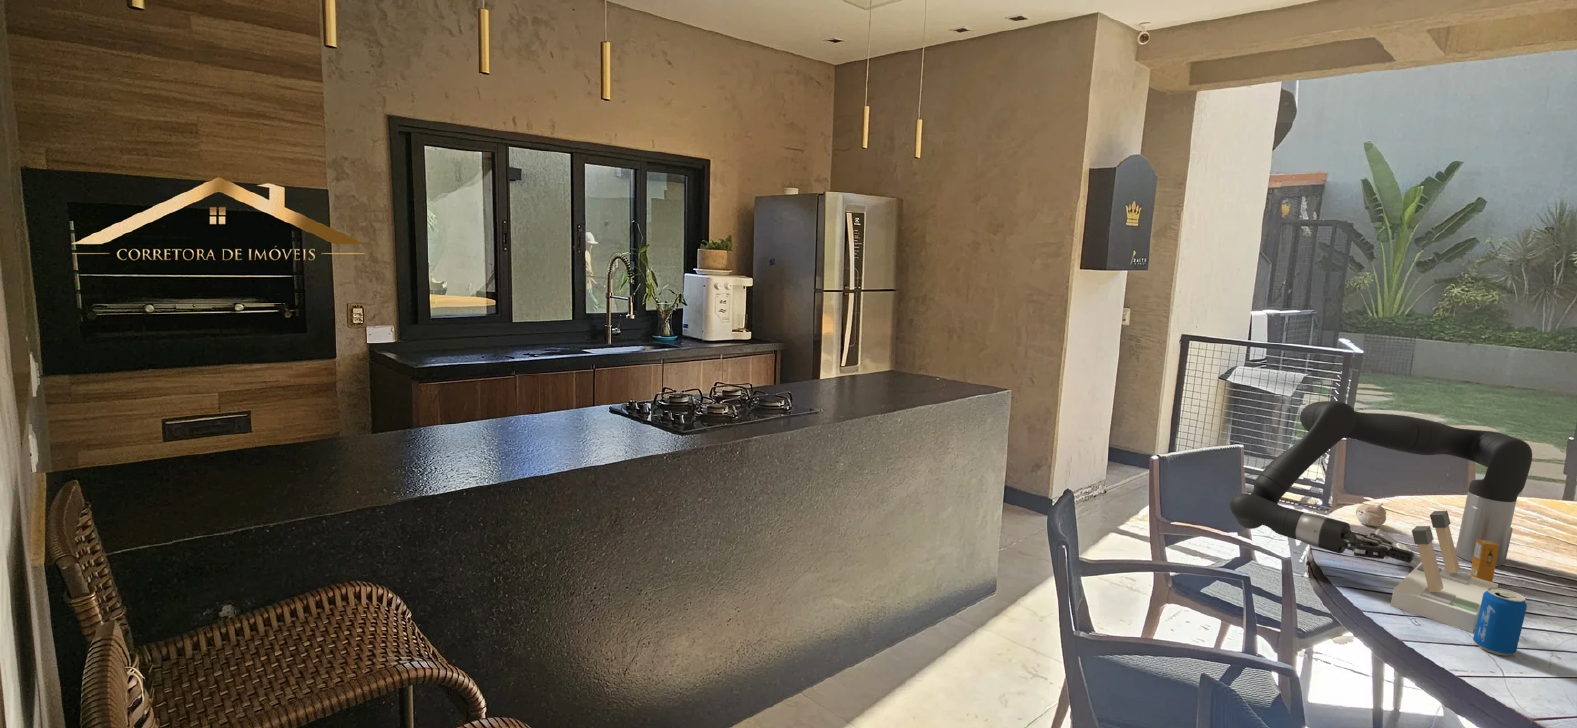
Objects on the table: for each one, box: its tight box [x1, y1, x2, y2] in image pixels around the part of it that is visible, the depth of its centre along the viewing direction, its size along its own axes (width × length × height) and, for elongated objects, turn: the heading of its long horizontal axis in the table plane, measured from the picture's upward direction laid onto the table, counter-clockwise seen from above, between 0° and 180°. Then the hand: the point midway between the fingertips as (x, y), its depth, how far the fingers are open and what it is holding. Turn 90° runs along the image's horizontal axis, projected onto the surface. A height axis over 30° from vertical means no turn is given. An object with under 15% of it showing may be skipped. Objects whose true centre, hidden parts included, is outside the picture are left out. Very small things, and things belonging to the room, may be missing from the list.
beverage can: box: [1472, 587, 1528, 657], centre depth 154 cm, size 6×6×12 cm
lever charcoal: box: [1429, 510, 1461, 573], centre depth 178 cm, size 2×4×14 cm, turn 128°
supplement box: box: [1469, 539, 1499, 582], centre depth 185 cm, size 3×3×10 cm
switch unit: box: [1390, 562, 1499, 633], centre depth 173 cm, size 14×24×4 cm, turn 129°
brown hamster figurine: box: [1355, 502, 1387, 528], centre depth 219 cm, size 7×6×8 cm
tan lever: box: [1411, 525, 1443, 592], centre depth 168 cm, size 2×4×14 cm, turn 129°
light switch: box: [1374, 528, 1422, 570], centre depth 193 cm, size 8×5×13 cm
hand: (1412, 557), depth 171 cm, fingers closed
